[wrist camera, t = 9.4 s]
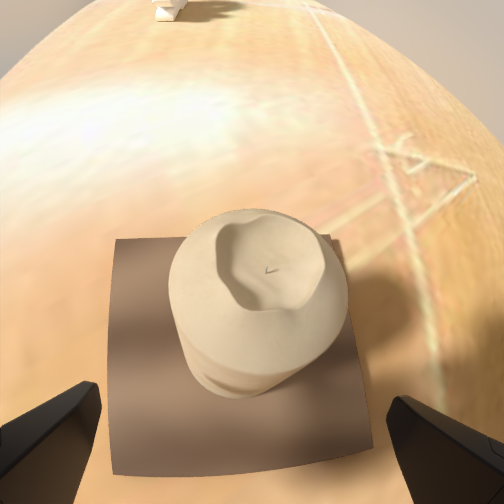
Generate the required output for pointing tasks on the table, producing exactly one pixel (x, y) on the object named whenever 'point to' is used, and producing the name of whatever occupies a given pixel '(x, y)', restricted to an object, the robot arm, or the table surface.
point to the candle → (255, 300)
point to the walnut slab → (207, 403)
